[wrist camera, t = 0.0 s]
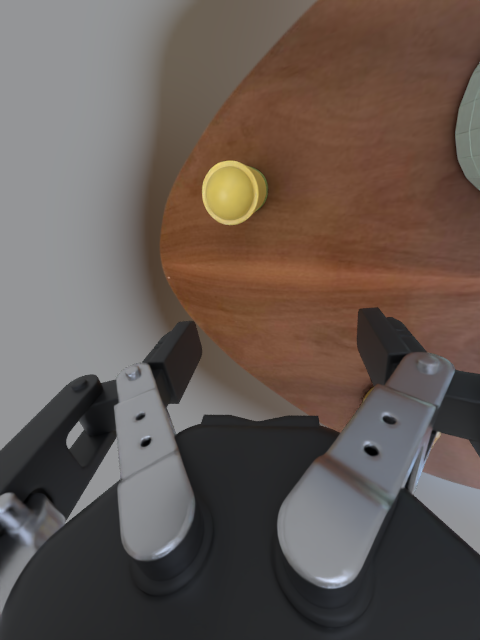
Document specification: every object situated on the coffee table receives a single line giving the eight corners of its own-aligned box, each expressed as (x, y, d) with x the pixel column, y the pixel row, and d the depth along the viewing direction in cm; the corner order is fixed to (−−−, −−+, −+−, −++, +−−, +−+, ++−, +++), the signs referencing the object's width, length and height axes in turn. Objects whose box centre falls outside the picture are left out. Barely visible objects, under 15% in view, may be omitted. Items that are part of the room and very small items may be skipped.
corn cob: (235, 160, 30) (202, 145, 18) (274, 176, 30) (267, 171, 18) (223, 204, 33) (186, 216, 20) (259, 218, 33) (244, 239, 21)
